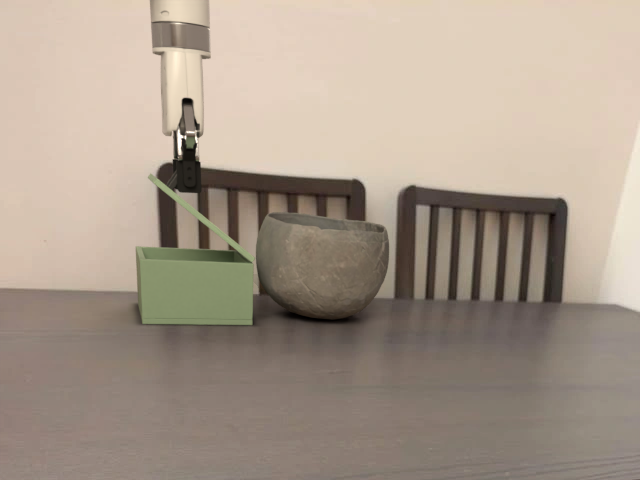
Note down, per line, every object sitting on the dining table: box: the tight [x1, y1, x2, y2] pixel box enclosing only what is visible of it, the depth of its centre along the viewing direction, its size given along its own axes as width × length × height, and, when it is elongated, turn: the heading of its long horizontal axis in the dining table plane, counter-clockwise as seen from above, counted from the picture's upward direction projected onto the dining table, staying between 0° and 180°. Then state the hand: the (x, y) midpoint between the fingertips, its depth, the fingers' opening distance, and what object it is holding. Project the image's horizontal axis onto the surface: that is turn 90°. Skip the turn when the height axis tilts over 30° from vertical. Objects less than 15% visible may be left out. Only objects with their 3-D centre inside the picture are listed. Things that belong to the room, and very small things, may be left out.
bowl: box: [255, 211, 390, 320], centre depth 114 cm, size 20×20×15 cm
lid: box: [147, 160, 256, 263], centre depth 105 cm, size 16×14×6 cm
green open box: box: [135, 245, 255, 326], centre depth 109 cm, size 16×14×9 cm
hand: (187, 189), depth 103 cm, fingers closed on lid, 5 cm apart
